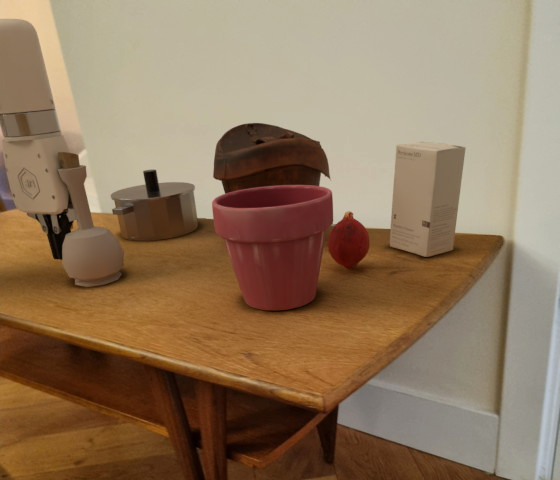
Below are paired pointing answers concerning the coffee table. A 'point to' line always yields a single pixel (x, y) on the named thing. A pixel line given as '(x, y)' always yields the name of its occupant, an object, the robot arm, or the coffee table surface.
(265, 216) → the flower pot
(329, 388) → the coffee table surface
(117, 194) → the pan lid
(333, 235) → the onion
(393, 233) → the cosmetic box
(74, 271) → the potion bottle
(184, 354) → the coffee table surface
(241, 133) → the chocolate muffin
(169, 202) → the pan
